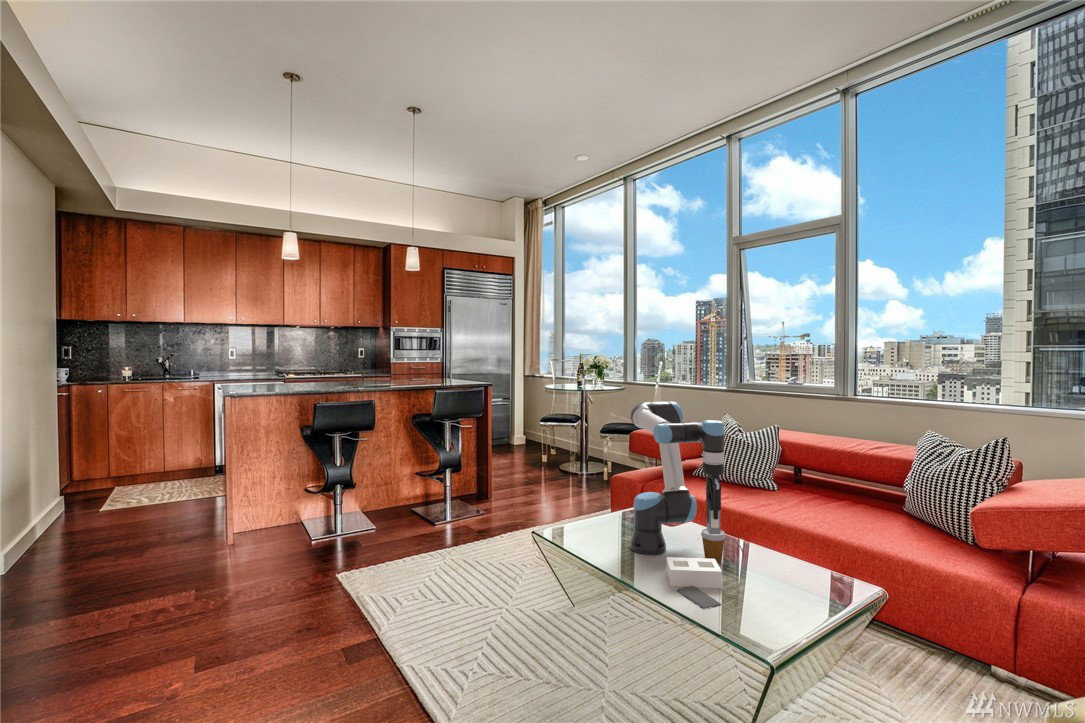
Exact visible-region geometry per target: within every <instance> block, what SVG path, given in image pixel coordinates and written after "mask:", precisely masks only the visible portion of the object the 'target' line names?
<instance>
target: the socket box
mask: <svg viewBox="0 0 1085 723" xmlns="http://www.w3.org/2000/svg"><path fill="white" fill-rule="evenodd" d="M665 559H666V560H665V561H666V575H667V579H668V582H669V586H670V587H675V586H677V587H678V588H679V587H680V588H684V587H689V586H695V587H696V588H698V589H699V588H701V589H702V588H703V589H705V588H706V589H723V571H722V569H721V567H720V566H719V565H720V564H717V562H716V560H715V559H708V558H705V557H674V556H666V558H665ZM677 587H676V588H677Z"/></svg>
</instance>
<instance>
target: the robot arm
mask: <svg viewBox="0 0 1085 723" xmlns="http://www.w3.org/2000/svg"><path fill="white" fill-rule="evenodd" d="M629 416H630V420H631V423H632V424H633V425H634V426H635V427H636V428H639V429H644V430H646V431H647V432H649V433H651V434H652V435H653V439H654V440H655V442H656V443H657V444H659V452H660V459H661V460H660V461H661V466H662V474H663V482H664V489H663V490H662V492H661V493H662V494H661V493H660V492H656V491H653V492H652V491H645V492H642V493H638V494H637V495H636V496H635V497H634V500H633V501H634V502H633V515H634V516H633V520H634V521H633V525H634V526H633V533H632V535H631V538H630V542H629V545H630V549H631V551H633V552H635V553H638V554H642V555H647V556H648V555H650V556H651V555H652V556H653V555H659V554H663V553H665V552H666V551H667V544H666V541H665V537H664V535H663V532H662V531H663V530H662V528H663V527H662V525H666V524H667V525H669V524H685V523H690V522H692V521H694V520H695V517H696V515H697V510H698V509H697V508H698V507H697V506H698V505H697V500H696V497H695V496H694V495H693V494H692V493H690V489H688V488H687V487H686V485H685V478H684V477H685V476H684V471H683V470H684V469H683V465H682V464H683V463H682V457H681V449H680V444H681V443H682V444H683V443H684V444H687V443H700V444H701V443H702V453H701V457H702V461H703V462H702V472H703V474H706V475H705V499H706V498H711V501H712V509H710V510H711V528H719V510H720V511H722V488H723V486H722V483H721V479H720V475H721V476H722V475H724V473H725V464H724V462H725V424H724V422H723V421H721V420H716V419H715V420H713V419H712V420H711V419H708V420H707V419H706V420H703V421H697V420H695V421H692V422H684V414H683V409H682V408H681V406H680V404H678V403H677V401H671V400H670V401H668V400H664V401H644V402H643V401H642V402H640V403H638V404H636V405H635V406H633V408H632V409H631V411H630V415H629Z"/></svg>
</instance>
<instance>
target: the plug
mask: <svg viewBox="0 0 1085 723" xmlns="http://www.w3.org/2000/svg"><path fill="white" fill-rule="evenodd" d="M705 502H706V529H707V532H708V533H709V534H720V530H721V510H719V528H711V510H710V509H712V501H711V498H706V497H705Z"/></svg>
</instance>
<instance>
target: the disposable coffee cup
mask: <svg viewBox="0 0 1085 723" xmlns="http://www.w3.org/2000/svg"><path fill="white" fill-rule="evenodd" d="M700 536H701V539H702V545H703V546H702V547H703V552H704V554H703V555H704V558H708V559H715V560H716V562H717V564H718V565H720V564H722V561H723V553H724V546H725V545H724V544H725V539H726V533H725V531H724V530H722V529H720V534H709V533H708V532H707V528H703V529H702V530H701V533H700Z"/></svg>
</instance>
